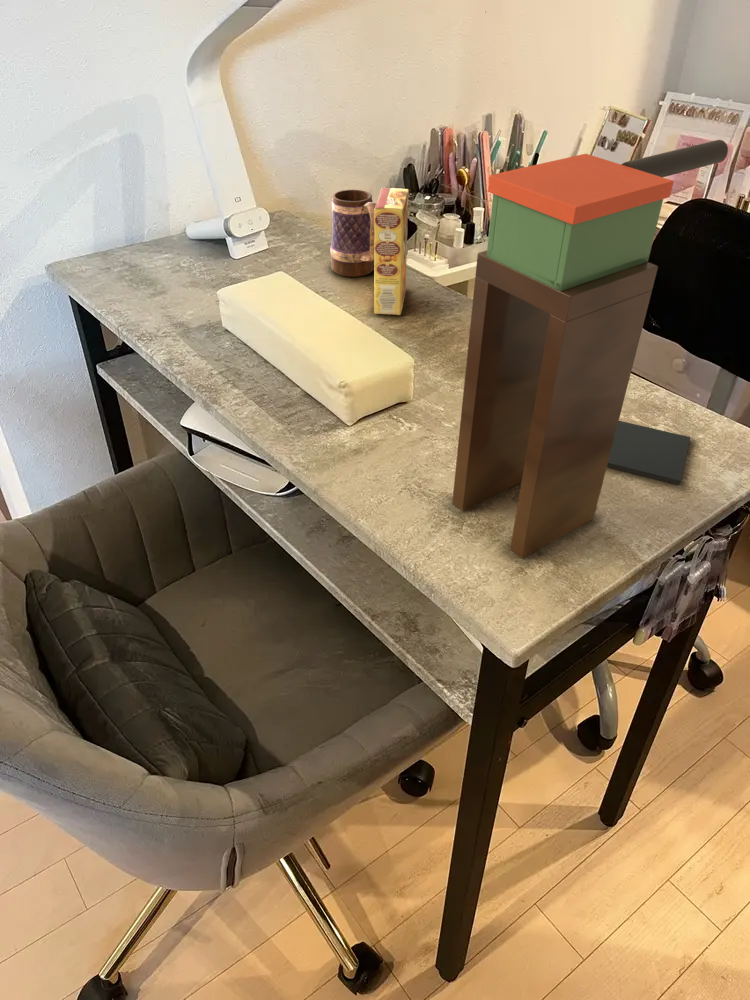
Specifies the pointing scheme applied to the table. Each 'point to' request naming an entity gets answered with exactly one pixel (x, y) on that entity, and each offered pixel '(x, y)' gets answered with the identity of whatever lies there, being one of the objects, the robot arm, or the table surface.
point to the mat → (649, 452)
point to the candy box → (390, 250)
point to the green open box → (569, 242)
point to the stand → (546, 393)
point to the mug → (352, 233)
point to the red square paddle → (600, 182)
